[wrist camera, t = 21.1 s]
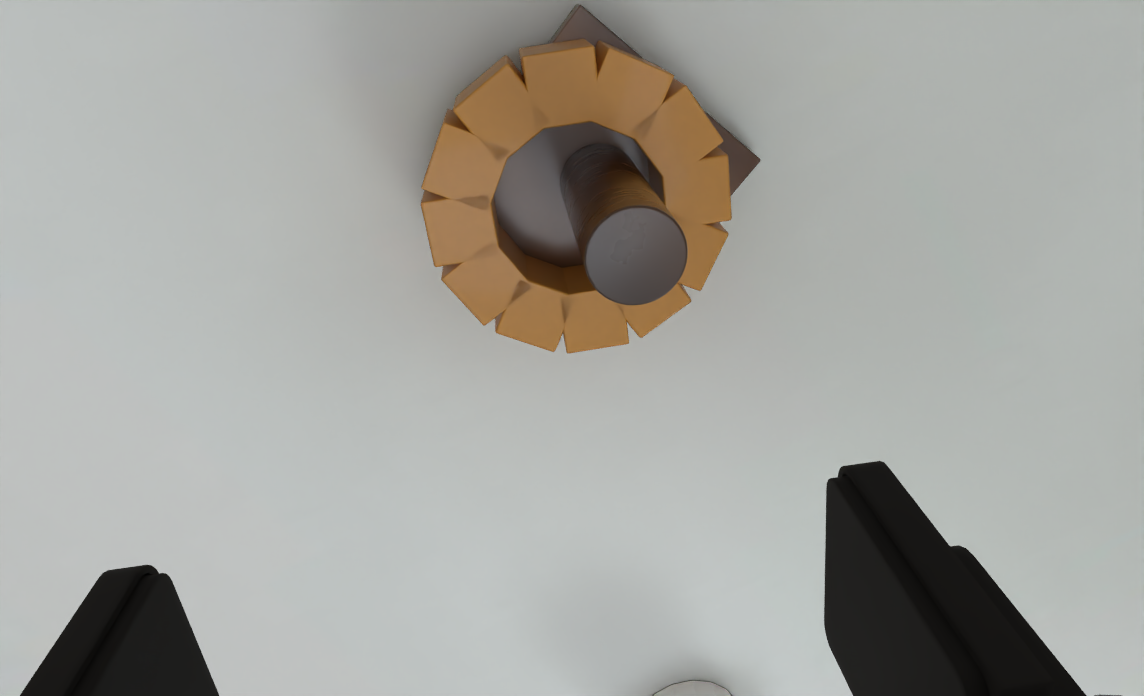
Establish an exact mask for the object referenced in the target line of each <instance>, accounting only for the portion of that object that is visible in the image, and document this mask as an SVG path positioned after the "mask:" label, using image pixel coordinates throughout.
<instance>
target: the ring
mask: <svg viewBox="0 0 1144 696" xmlns="http://www.w3.org/2000/svg"><path fill="white" fill-rule="evenodd" d="M519 55H520V61H521V68H522V74H523V75H522V74H521V72H520V71H519V70H518V69H517V67H516V66H515V65H514V63H513V62H512V61H511V59H510V58H509V57H508V56H507V55H505V56H503V57H502V58H501V59H500V60H499V61H497V62H496V63H495V64H494V65H493V66H492V67H490V68H489V69H488V70H487V71H486V72H484V73H483V74H482V75H481V76H480V77H479V78H477V79H476V80H475V81H474V82H473V83H472V84H470V85H469V86H468V87H467V88H466V89H464V90H463V91H462V92H461V93H460V94H459V95H457V97H456V100H455V103H454V107H453V110H451V109H447V112H446V115H445V118H444V121H443V124H442V127H441V130H440V132H439V135H438V138H437V141H436V144H435V147H434V150H433V153H432V156H431V159H430V162H429V165H428V168H427V171H426V174H425V178H424V181H423V184H422V187H421V188H422V189H423V190H425V191H424V194H423V198H422V201H421V208H422V212H423V217H424V221H425V226H426V230H427V235H428V240H429V244H430V249H431V253H432V258H433V262H434V266H435V267H440V266H443V272H442V278H441V280H442V281H443V282H444V283H445V284H446V285H447V286H448V287H449V289H450V290H451V291H452V292H453V293H454V294H455V295H456V296H457V297H458V298H459V299H460V300H461V302H462V303H463V304H464V305H465V306H466V307H467V308H468V309H469V310H470V311H471V312H472V313H473V315H474V316H475V317H476V318H477V319H478V320H479V321H480V322H481V323H482V324H483V325H486V324H487V323H489V322H490V321H491V320H493V319H494V318H495V331H496V333H498V334H501V335H504V336H507V337H510V338H513V339H516V340H519V341H522V342H525V343H528V344H531V345H534V346H537V347H540V348H543V349H546V350H549V351H552V352H554V351H555V350H556V347H557V345H558V343H559V341H560V338H561V336H562V334H563V336H564V341H565V346H566V351H567V353H574V352H580V351H586V350H593V349H599V348H605V347H611V346H617V345H623V344H628V343H629V338H628V329H627V322H628V324H629V325H630V326H631V327H632V329H633V330H634V331H635V332H636V333H637V335H638V336H639V337H641V338H642V337H643V336H645V335H646V334H647V333H649V332H650V331H652V330H653V329H654V328H656V327H657V326H658V325H660V324H661V323H663V322H664V321H665V320H667V319H668V318H669V317H671V316H672V315H673V314H675V313H676V312H678V311H679V310H680V309H682V308H683V307H684V306H686V305H687V304H689V303H690V302H691V299H690V297H689V295H688V294H687V292H686V290H685V289H684V287H683V285H685V286H688V287H690V288H693V289H696V290H699V291H700V290H701V289H702V287H703V285H704V283H705V281H706V279H707V277H708V275H709V273H710V271H711V269H712V267H713V265H714V263H715V261H716V259H717V257H718V255H719V253H720V251H721V248H722V246H723V244H724V242H725V240H726V238H727V236H728V232H727V231H726V230H725V229H724V228H723V227H722V226H721V224H720V223H719V222H722V221H729V220H731V218H732V216H731V198H730V179H729V160H728V155H727V154H726V153H725V152H723V151H722V150H721V149H720V148H718V147H717V146H718V145H720V144H721V143H722V142H723V139H722V137H721V136H720V134H719V133H718V131H717V130H716V128H715V127H714V126H713V124H712V123H711V121H710V120H709V118H708V117H707V115H706V114H705V112H704V111H703V109H702V108H701V106H700V105H699V104H698V102H697V101H696V99H695V98H694V96H693V95H692V93H691V92H690V90H689V89H688V87H687V86H686V85H684V84H683V83H681V82H679V81H678V80H676V79H674V75H673V74H671V73H669V72H668V71H666V70H664V69H662V68H661V67H659V66H657V65H655V64H653V63H650V62H648V61H646V60H644V59H641V58H639V57H637V56H634V55H632V54H630V53H627V52H625V51H623V50H621V49H618V48H616V47H614V46H611V45H609V44H607V43H604V42H602V41H598V42H597V44H596V47H594V46H593V45H592V44H591V43H589V42H588V41H587V40H585V39H577V40H570V41H563V42H557V43H550V44H544V45H537V46H531V47H524V48H520V49H519ZM586 122H593V123H596V124H598V125H601V126H603V127H606V128H608V129H611V130H613V131H615V132H618V133H620V134H623V135H625V136H628V137H630V138H632V139H633V140H634V141H635V143H636V144H637V145H638V147H639V148H640V149H641V151H642V152H643V153H644V155H645V156H646V158H647V160H648V171H649V181H650V186H651V187H652V189H653V190H654V191H655V193H656V194H657V195H658V197H659V198H660V199H661V201H662V202H663V204H664V205H665V206H666V208H667V209H668V210H669V212H670V213H671V214H672V216H673V217H674V219H675V220H676V221H677V223H678V224H679V225H680V227H681V229H682V230H683V233H684V235H685V238H686V241H687V248H688V257H687V263H686V267H685V270H684V272H683V274H682V276H681V278H680V280H679V281H678V282H677V284H676V285H675V286H674V287H673V288H672V289H671V290H670V291H669V292H668V293H667V294H665V295H664V296H662V297H661V298H659V299H657V300H655V301H653V302H650V303H647V304H642V305H624V304H619V303H616V302H613V301H611V300H609V299H607V298H605V297H604V296H602V295H601V294H600V293H599V292H598V291H597V290H596V289H595V288H594V287H593V285H592V284H591V283H590V281H589V279H588V277H587V274H586V271H585V268H584V265H577V266H570V267H564V268H561V267H558V266H556V265H553V264H550V263H547V262H544V261H542V260H539V259H536V258H533V257H530V256H528V255H525V254H524V253H523V252H522V250H521V249H520V248H519V247H518V246H517V245H516V243H515V242H514V241H513V240H512V239H511V238H510V236H509V235H508V234H507V233H506V232H505V231H504V229H503V228H502V227H501V226H500V225H499V223H498V218H497V212H496V207H495V201H494V194H495V191H496V188H497V186H498V183H499V180H500V178H501V175H502V172H503V170H504V167H505V164H506V162H507V159H508V158H509V157H510V156H512V155H513V154H514V153H515V152H516V151H518V150H519V149H520V148H521V147H523V146H524V145H525V144H526V143H528V142H529V141H530V140H531V139H532V138H534V137H535V136H536V135H537V134H539V133H540V132H541V131H542V130H543V129H547V128H554V127H560V126H566V125H573V124H579V123H586Z"/></svg>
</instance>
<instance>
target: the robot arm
mask: <svg viewBox="0 0 1144 696" xmlns="http://www.w3.org/2000/svg"><path fill="white" fill-rule="evenodd" d="M824 625H825V632H826V636H827V640H828V643H829V646H830V648H831V651H832V653H833V655H834V657H835V659H836V661H837V663H838V665H839V667H840V669H841V671H842V673H843V675H844V678H845V680H846V682H847V684H848V686H849V688H850V690H851V692H852V694H853V696H1086V695H1085V693H1084V692H1083V691H1082V690H1081V688H1080V687H1079V686H1078V685H1077V683H1076V682H1075V681H1074V680H1073V679H1072V677H1071V676H1070V675H1069V674H1068V672H1067V671H1066V670H1065V669H1064V667H1063V666H1062V665H1061V664H1060V662H1059V661H1058V660H1057V659H1056V657H1055V656H1054V655H1053V654H1052V652H1051V651H1050V650H1049V649H1048V647H1047V646H1046V645H1045V644H1044V642H1043V641H1042V640H1041V639H1040V638H1039V636H1038V635H1037V634H1036V633H1035V631H1034V630H1033V629H1032V628H1031V626H1030V625H1029V624H1028V623H1027V621H1026V620H1025V619H1024V618H1023V616H1022V615H1021V614H1020V613H1019V611H1018V610H1017V609H1016V608H1015V606H1014V605H1013V604H1012V603H1011V601H1010V600H1009V599H1008V598H1007V597H1006V595H1005V594H1004V593H1003V592H1002V590H1001V589H1000V588H999V587H998V585H997V584H996V583H995V582H994V580H993V579H992V578H991V577H990V575H989V574H988V573H987V572H986V570H985V569H984V568H983V567H982V565H981V564H980V563H979V562H978V560H977V559H976V558H975V557H974V556H973V555H972V554H971V553H970V552H969V551H968V550H967V549H966V548H964V547H961V546H952V547H950V546H949V545H948V543H947V542H946V541H945V540H944V538H943V537H942V536H941V534H940V533H939V532H938V531H937V529H936V528H935V527H934V525H933V524H932V523H931V522H930V520H929V519H928V518H927V516H926V515H925V514H924V512H923V511H922V510H921V509H920V507H919V506H918V505H917V503H916V502H915V501H914V500H913V498H912V497H911V496H910V494H909V493H908V492H907V491H906V489H905V488H904V487H903V485H902V484H901V483H900V482H899V480H898V479H897V478H896V476H895V475H894V474H893V473H892V471H891V470H890V469H889V467H888V466H887V465H886V464H885V463H884V462H881V461H877V462H869V463H862V464H855V465H848V466H843V467H841V468H840V470H839V473H838V477H837V478H830V479H829V480H828V482H827V495H826V551H825V607H824ZM20 696H219V694H218V692H217V689H216V687H215V684H214V682H213V679H212V677H211V675H210V672H209V670H208V667H207V665H206V662H205V660H204V658H203V655H202V653H201V650H200V648H199V645H198V643H197V641H196V638H195V636H194V633H193V631H192V628H191V626H190V624H189V621H188V619H187V616H186V614H185V611H184V609H183V607H182V604H181V602H180V599H179V597H178V594H177V592H176V590H175V587H174V585H173V582H172V580H171V579H170V577H169V576H168V575H167V574H164V573H160V574H159V573H158V571H157V570H156V569H155V568H154V567H153V566H151V565H142V566H135V567H128V568H121V569H114V570H108V571H106V572H104V573H103V574H102V575H101V576H100V577H99V578H98V580H97V581H96V583H95V584H94V586H93V587H92V589H91V590H90V592H89V593H88V595H87V596H86V598H85V599H84V601H83V602H82V604H81V605H80V607H79V608H78V610H77V611H76V613H75V614H74V616H73V617H72V619H71V620H70V622H69V623H68V625H67V626H66V628H65V629H64V631H63V632H62V634H61V635H60V637H59V638H58V640H57V641H56V643H55V644H54V646H53V647H52V649H51V650H50V651H49V653H48V654H47V656H46V657H45V659H44V660H43V662H42V663H41V665H40V666H39V668H38V669H37V671H36V672H35V674H34V675H33V677H32V678H31V680H30V681H29V683H28V684H27V686H26V687H25V689H24V690H23V692H22V693H21V695H20ZM1095 696H1121V695H1095Z"/></svg>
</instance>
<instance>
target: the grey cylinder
mask: <svg viewBox="0 0 1144 696" xmlns="http://www.w3.org/2000/svg"><path fill="white" fill-rule="evenodd" d="M654 696H731V694H730V693H729V692H728V691H727V690H726V689H725V688H723V687H720V686H718V685H716V684H714V683H712V682H703V681H687V682H682V683H678V684H673V685H670V686H669V687H667V688H665V689H663V690H661V691H659V692H658V693H656V694H654Z"/></svg>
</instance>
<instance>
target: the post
mask: <svg viewBox="0 0 1144 696" xmlns="http://www.w3.org/2000/svg"><path fill="white" fill-rule="evenodd" d="M577 39H585V40H587V41H588V42H589V43H591V44H592V45H593V46H594V47H596V44H597V42H598V41H602V42H604V43H607V44H609V45H611V46H614V47H616V48H618V49H621V50H623V51H625V52H627V53H630V54H632V55H634V56H637V57H639V58H641V59H643V58H642V57H641V56H640V55H639V54H637V53H636V52H635V51H634V50H633V49H632V48H630V47H629V46H628V45H627V44H626V43H625V42H623V41H622V40H621V39H620V38H619V37H618V36H616V35H615V34H614V33H613V32H612V31H611V30H609V29H608V28H607V27H606V26H605V25H604V24H602V23H601V22H600V21H599V20H598V19H597V18H595V17H594V16H593V15H592V14H591V13H590V12H588V11H587V10H586V9H585V8H584V7H583V6H581V5H579V4H576V6H575V7H574V8H573V10H572V11H571V13H570V14H569V15H568V17H567V18H566V19H565V21H564V22H563V24H562V25H561V26H560V28H559V29H558V30H557V32H556V33H555V35H554V36H553V37H552V39H551V40H550V41H549V43H548V44H550V43H557V42H563V41H570V40H577ZM703 111H704V110H703ZM704 112H705V111H704ZM705 114H706V115H707V117H708V118H709V120H710V121H711V123H712V124H713V126H714V127H715V128H716V130H717V131H718V133H719V134H720V136H721V137H722V139H723V142H722V143H721V144H720V145H718V146H717V147H718V148H720V149H721V150H722V151H723V152H725V153H726V154H727V155H728V160H729V179H730V196H731V195H732V194H733V192H734V191H735V190H736V189H737V188H738V187H739V185H740V184H741V183H742V182H743V181H744V179H745V178H746V177H747V176H748V175H749V174H750V172H751V171H752V170H753V169H754V168H755V167H756V165H757V164H758V163H759V162H760V158H758V157H757V156H756V155H755V154H754V153H753V152H751V151H750V150H749V149H748V148H747V147H746V146H744V145H743V144H742V143H741V142H740V141H739V140H737V139H736V138H735V137H734V136H733V135H732V134H730V133H729V132H728V131H727V130H726V129H725V128H723V127H722V126H721V125H720V124H719V123H718V122H716V121H715V120H714V119H713V118H712V117H711V116H710V115H708V114H707V113H706V112H705ZM494 201H495V207H496V212H497V218H498V223H499V225H500V226H501V227H502V228H503V229H504V231H505V232H506V233H507V234H508V235H509V236H510V238H511V239H512V240H513V241H514V242H515V243H516V245H517V246H518V247H519V248H520V249H521V250H522V252H523V253H524V254H525V255H528V256H530V257H533V258H536V259H539V260H542V261H544V262H547V263H550V264H553V265H556V266H558V267H561V268H564V267H570V266H577V265H584V268H585V271H586V274H587V277H588V279H589V281H590V283H591V284H592V285H593V287H594V288H595V289H596V290H597V291H598V292H599V293H600V294H601V295H602V296H604V297H605V298H607V299H609V300H611V301H613V302H616V303H619V304H624V305H642V304H647V303H650V302H653V301H655V300H657V299H659V298H661V297H662V296H664V295H665V294H667V293H668V292H669V291H670V290H671V289H672V288H673V287H674V286H675V285H676V284H677V282H678V281H679V280H680V278H681V276H682V274H683V272H684V270H685V267H686V263H687V257H688V248H687V241H686V238H685V235H684V233H683V230H682V229H681V227H680V225H679V224H678V223H677V221H676V220H675V219H674V217H673V216H672V214H671V213H670V212H669V210H668V209H667V208H666V206H665V205H664V204H663V202H662V201H661V199H660V198H659V197H658V195H657V194H656V193H655V191H654V190H653V189H652V187H651V186H650V181H649V171H648V160H647V158H646V156H645V155H644V153H643V152H642V151H641V149H640V148H639V147H638V145H637V144H636V143H635V141H634V140H633V139H632V138H630V137H628V136H625V135H623V134H620V133H618V132H615V131H613V130H611V129H608V128H606V127H603V126H601V125H598V124H596V123H593V122H586V123H579V124H573V125H566V126H560V127H554V128H547V129H543V130H542V131H541V132H540V133H539V134H537V135H536V136H535V137H534V138H532V139H531V140H530V141H529V142H528V143H526V144H525V145H524V146H523V147H521V148H520V149H519V150H518V151H516V152H515V153H514V154H513V155H512V156H510V157H509V158H508V159H507V162H506V164H505V167H504V170H503V172H502V175H501V178H500V180H499V183H498V186H497V188H496V191H495V194H494Z"/></svg>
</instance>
